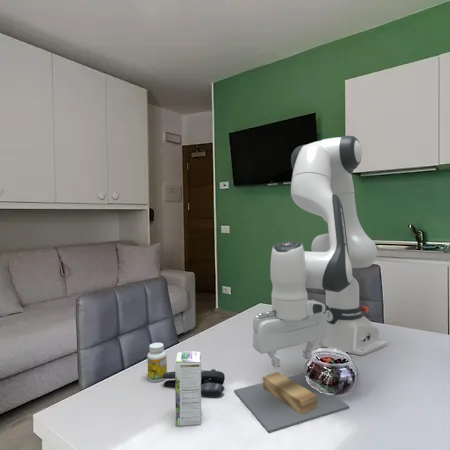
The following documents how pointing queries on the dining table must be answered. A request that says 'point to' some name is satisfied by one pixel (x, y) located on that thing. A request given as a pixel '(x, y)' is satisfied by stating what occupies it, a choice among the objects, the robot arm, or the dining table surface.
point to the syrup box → (188, 388)
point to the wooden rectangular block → (290, 392)
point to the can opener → (203, 382)
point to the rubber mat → (285, 405)
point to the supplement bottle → (156, 362)
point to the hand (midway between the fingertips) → (292, 361)
